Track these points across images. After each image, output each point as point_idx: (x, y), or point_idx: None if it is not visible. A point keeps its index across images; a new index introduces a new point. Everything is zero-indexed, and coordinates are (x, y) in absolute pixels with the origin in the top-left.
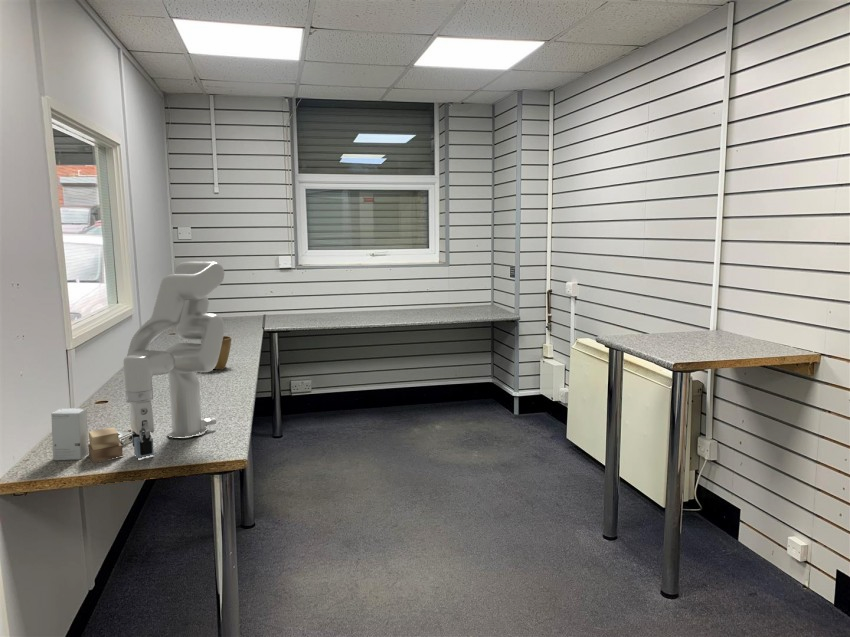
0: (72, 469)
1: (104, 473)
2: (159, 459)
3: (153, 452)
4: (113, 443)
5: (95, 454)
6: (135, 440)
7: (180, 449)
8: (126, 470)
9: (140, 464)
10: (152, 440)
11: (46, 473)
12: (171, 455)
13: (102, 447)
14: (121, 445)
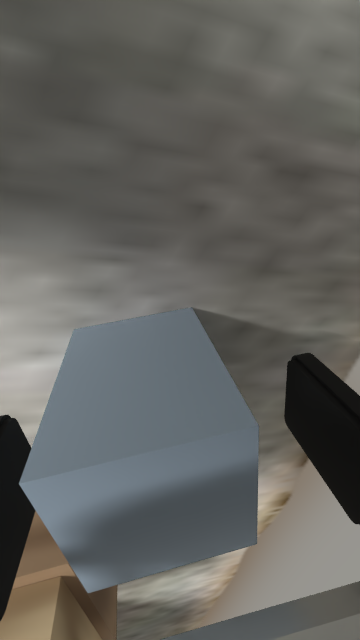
0: (158, 585)
1: (283, 496)
2: (266, 273)
3: (200, 326)
4: (67, 627)
5: (113, 602)
6: (194, 558)
7: (83, 10)
8: None
9: (277, 381)
10: (247, 407)
11: (155, 624)
12: (233, 165)
13: (91, 634)
14: (68, 564)
